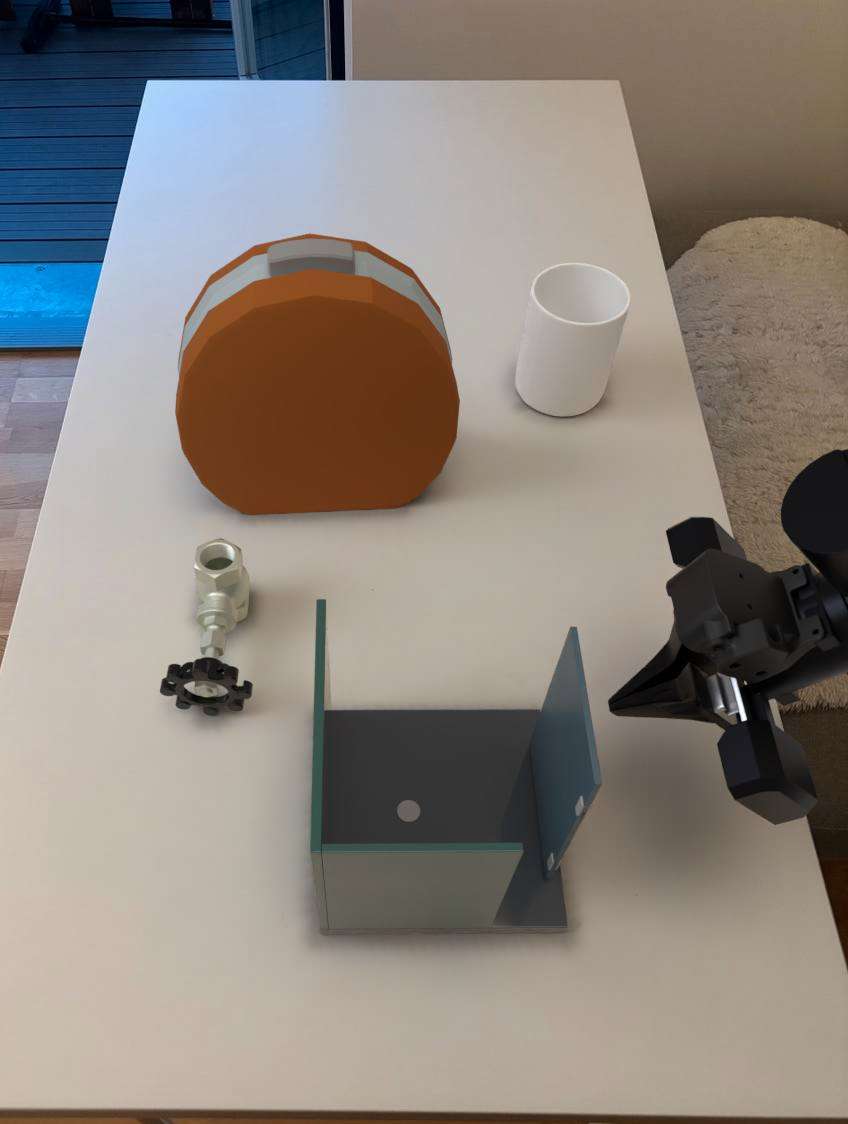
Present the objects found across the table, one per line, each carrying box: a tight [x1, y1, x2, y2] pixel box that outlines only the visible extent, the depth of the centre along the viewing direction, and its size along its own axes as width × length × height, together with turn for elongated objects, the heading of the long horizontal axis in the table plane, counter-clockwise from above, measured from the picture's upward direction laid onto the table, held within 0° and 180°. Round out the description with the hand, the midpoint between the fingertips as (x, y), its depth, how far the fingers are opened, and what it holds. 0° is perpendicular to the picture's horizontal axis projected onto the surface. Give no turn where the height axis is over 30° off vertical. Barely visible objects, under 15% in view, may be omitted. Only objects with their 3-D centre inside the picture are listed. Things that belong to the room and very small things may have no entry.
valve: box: [159, 537, 254, 717], centre depth 69 cm, size 7×7×12 cm
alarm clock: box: [174, 233, 461, 516], centre depth 72 cm, size 22×10×23 cm, turn 94°
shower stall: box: [309, 598, 569, 935], centre depth 58 cm, size 16×16×15 cm
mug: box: [514, 262, 632, 418], centre depth 84 cm, size 9×12×11 cm
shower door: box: [529, 626, 603, 878], centre depth 57 cm, size 2×10×15 cm, turn 1°
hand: (611, 708), depth 59 cm, fingers closed
